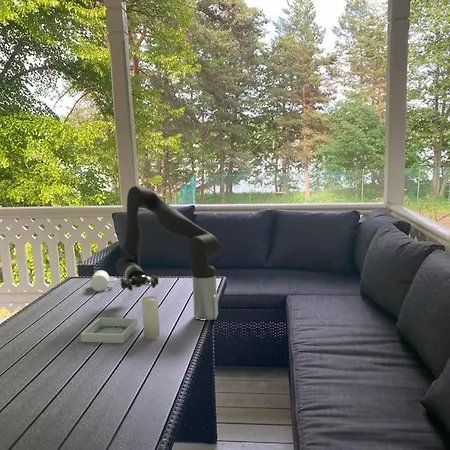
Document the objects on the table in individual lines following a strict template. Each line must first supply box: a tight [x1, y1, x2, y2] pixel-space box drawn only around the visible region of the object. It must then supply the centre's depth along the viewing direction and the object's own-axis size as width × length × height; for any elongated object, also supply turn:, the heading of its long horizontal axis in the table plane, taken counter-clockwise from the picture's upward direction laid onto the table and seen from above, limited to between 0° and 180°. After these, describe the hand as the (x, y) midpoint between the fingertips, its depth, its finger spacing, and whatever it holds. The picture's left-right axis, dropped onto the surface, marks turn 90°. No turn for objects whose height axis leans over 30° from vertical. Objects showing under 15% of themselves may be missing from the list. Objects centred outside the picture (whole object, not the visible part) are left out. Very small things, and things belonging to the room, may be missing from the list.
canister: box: [141, 295, 161, 340], centre depth 159 cm, size 6×6×14 cm
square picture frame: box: [80, 317, 139, 344], centre depth 163 cm, size 16×16×3 cm
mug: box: [90, 269, 118, 292], centre depth 220 cm, size 12×10×8 cm
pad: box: [98, 327, 124, 334], centre depth 163 cm, size 9×9×1 cm
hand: (142, 286), depth 168 cm, fingers open, 8 cm apart
